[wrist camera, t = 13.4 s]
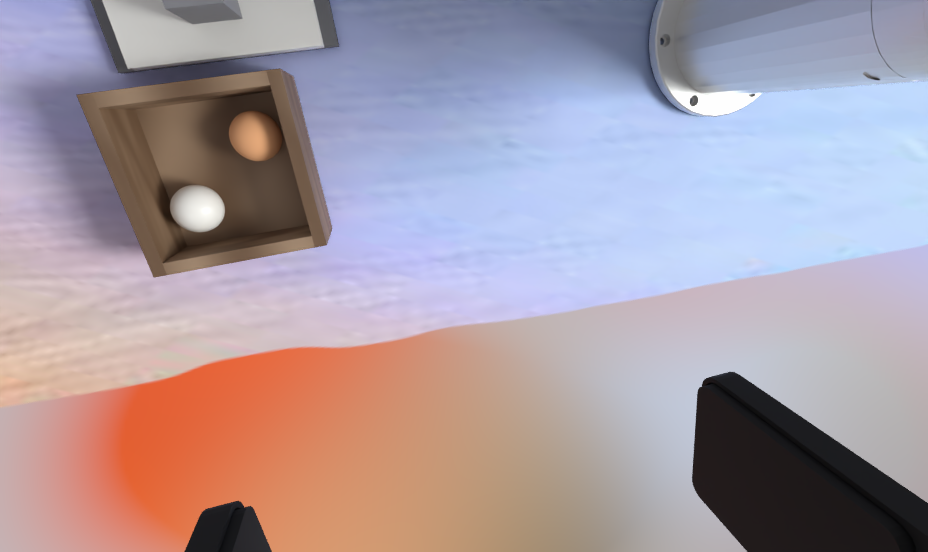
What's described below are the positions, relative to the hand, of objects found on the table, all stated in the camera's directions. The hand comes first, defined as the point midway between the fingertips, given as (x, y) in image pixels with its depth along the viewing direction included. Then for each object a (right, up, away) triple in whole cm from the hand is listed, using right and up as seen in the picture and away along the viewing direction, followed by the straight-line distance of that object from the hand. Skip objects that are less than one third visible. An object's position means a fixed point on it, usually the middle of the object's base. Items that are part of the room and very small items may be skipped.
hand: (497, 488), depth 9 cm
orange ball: (-15, +14, +20) cm, 28 cm away
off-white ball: (-19, +9, +21) cm, 29 cm away
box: (-17, +12, +23) cm, 31 cm away
